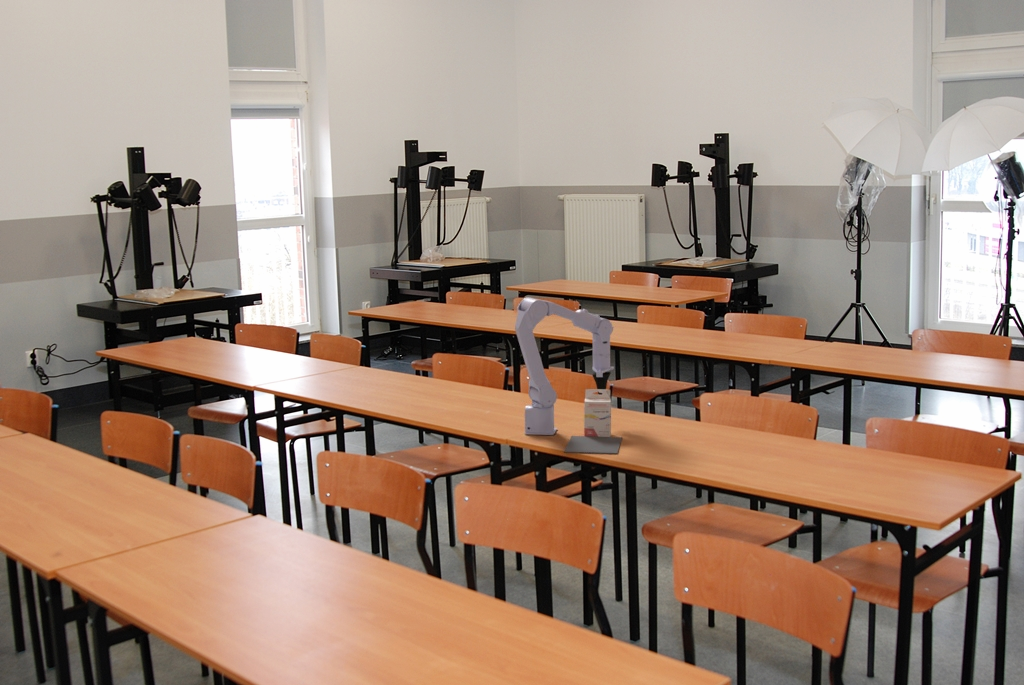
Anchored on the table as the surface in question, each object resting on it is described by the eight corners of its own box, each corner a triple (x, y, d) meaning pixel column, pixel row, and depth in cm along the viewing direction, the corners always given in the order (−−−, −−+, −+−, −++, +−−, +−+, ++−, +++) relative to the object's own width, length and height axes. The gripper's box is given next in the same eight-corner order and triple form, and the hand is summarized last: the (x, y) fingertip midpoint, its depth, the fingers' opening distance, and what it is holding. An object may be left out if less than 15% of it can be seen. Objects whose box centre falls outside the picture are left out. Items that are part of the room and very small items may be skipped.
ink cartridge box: (584, 437, 313) (583, 392, 311) (584, 433, 318) (584, 388, 316) (611, 437, 312) (611, 392, 310) (611, 433, 317) (610, 388, 315)
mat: (564, 452, 296) (564, 451, 296) (571, 437, 314) (571, 435, 314) (617, 454, 293) (617, 452, 293) (622, 438, 311) (622, 437, 311)
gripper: (611, 358, 316) (611, 399, 319) (615, 350, 330) (615, 389, 333) (589, 357, 318) (590, 398, 320) (594, 350, 332) (594, 389, 334)
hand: (601, 394), depth 326 cm, fingers closed
